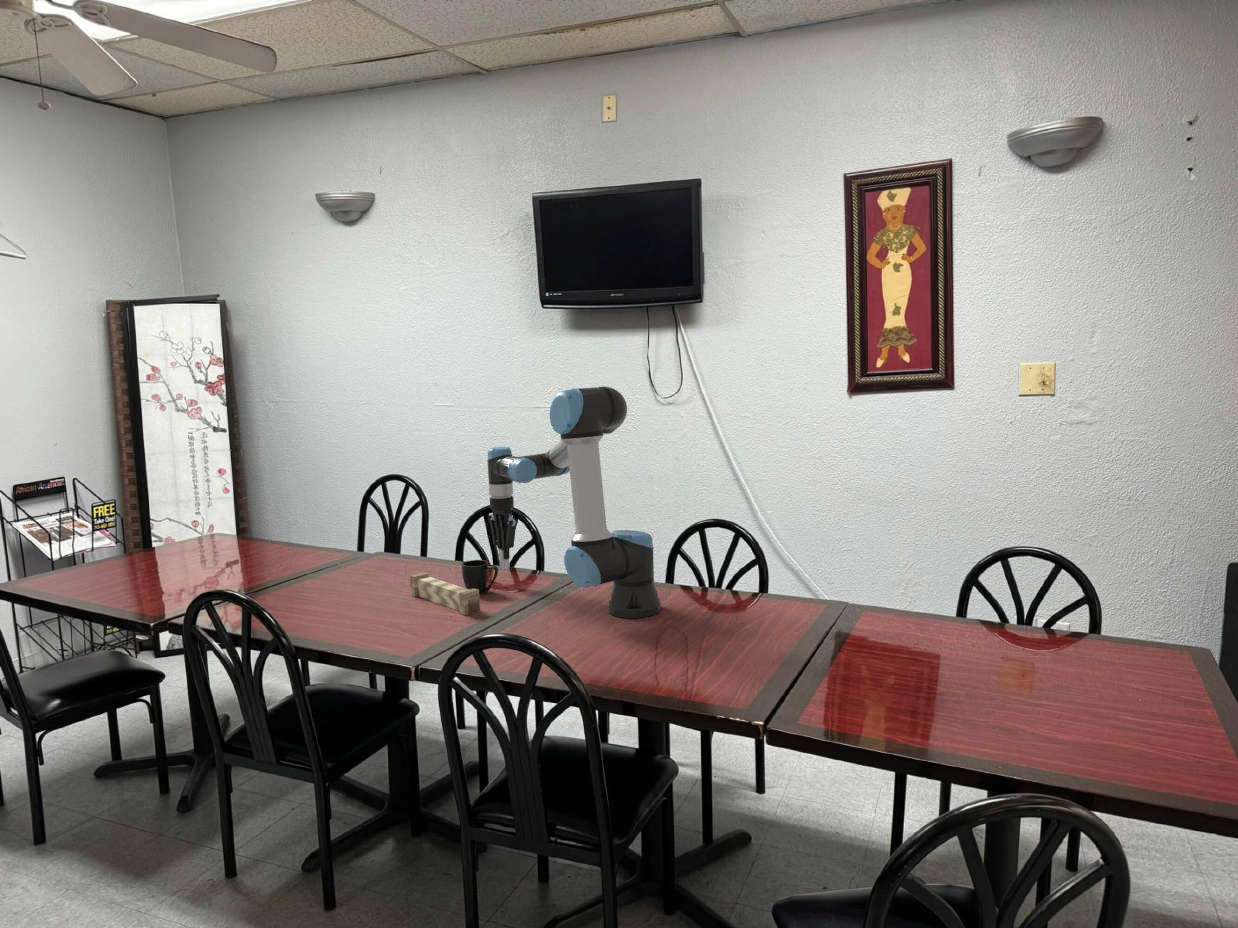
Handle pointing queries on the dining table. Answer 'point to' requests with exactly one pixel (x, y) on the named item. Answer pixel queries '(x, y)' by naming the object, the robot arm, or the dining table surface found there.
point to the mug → (477, 575)
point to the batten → (445, 593)
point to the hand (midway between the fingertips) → (504, 568)
